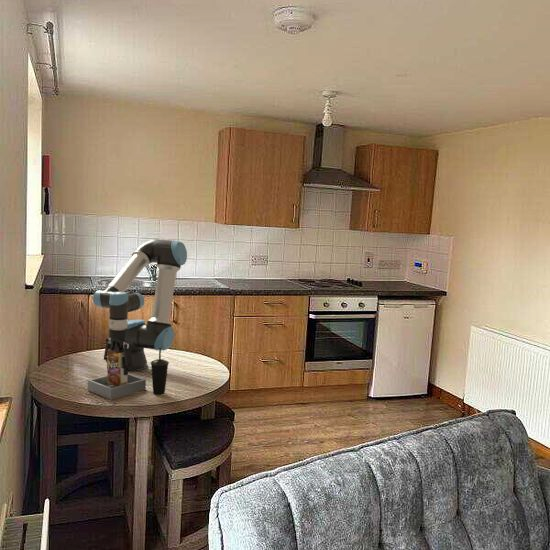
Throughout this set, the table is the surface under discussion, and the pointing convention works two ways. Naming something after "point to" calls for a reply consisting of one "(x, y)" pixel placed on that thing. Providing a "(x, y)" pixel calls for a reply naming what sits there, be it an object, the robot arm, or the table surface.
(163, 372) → the drinking cup
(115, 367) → the candy box
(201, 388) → the table surface
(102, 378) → the tray
